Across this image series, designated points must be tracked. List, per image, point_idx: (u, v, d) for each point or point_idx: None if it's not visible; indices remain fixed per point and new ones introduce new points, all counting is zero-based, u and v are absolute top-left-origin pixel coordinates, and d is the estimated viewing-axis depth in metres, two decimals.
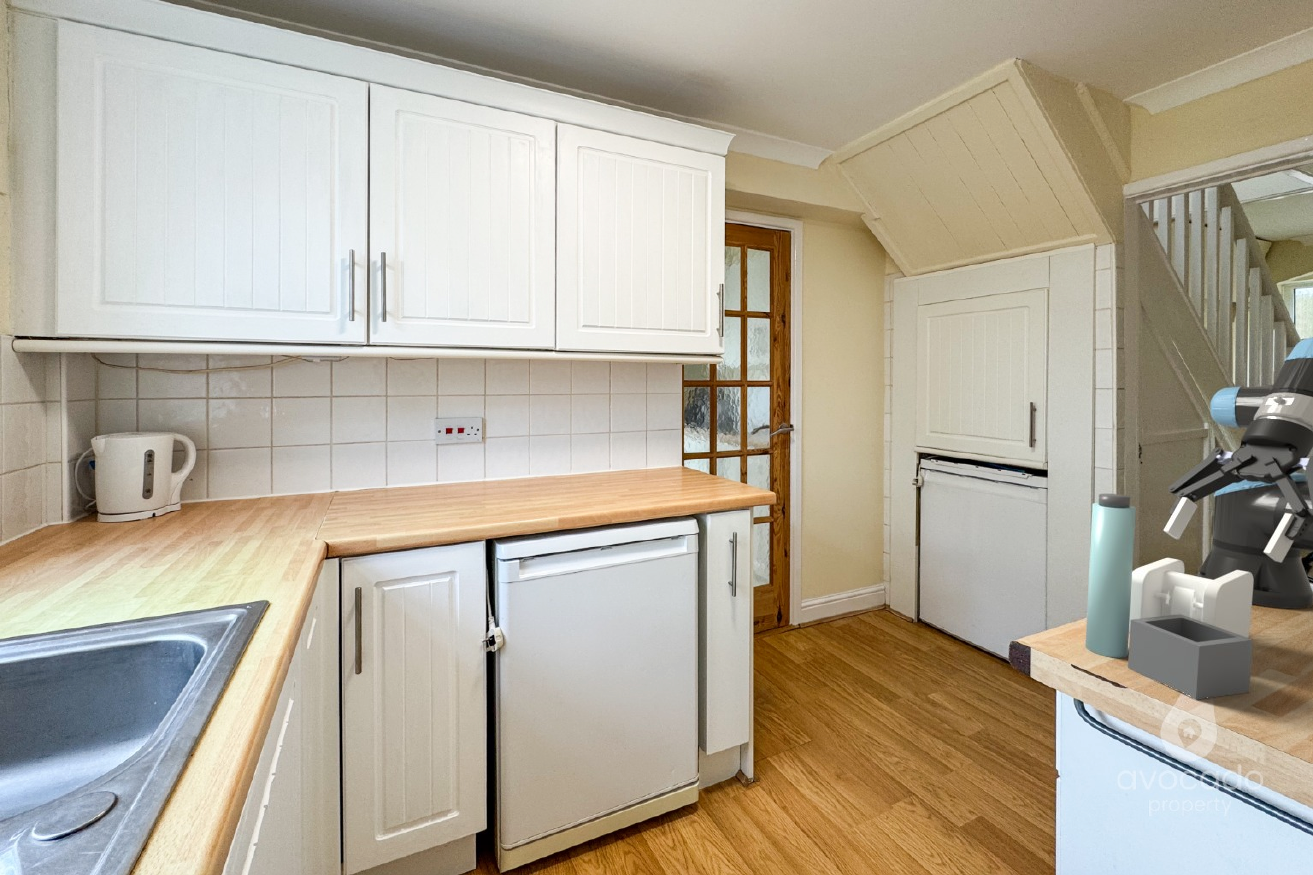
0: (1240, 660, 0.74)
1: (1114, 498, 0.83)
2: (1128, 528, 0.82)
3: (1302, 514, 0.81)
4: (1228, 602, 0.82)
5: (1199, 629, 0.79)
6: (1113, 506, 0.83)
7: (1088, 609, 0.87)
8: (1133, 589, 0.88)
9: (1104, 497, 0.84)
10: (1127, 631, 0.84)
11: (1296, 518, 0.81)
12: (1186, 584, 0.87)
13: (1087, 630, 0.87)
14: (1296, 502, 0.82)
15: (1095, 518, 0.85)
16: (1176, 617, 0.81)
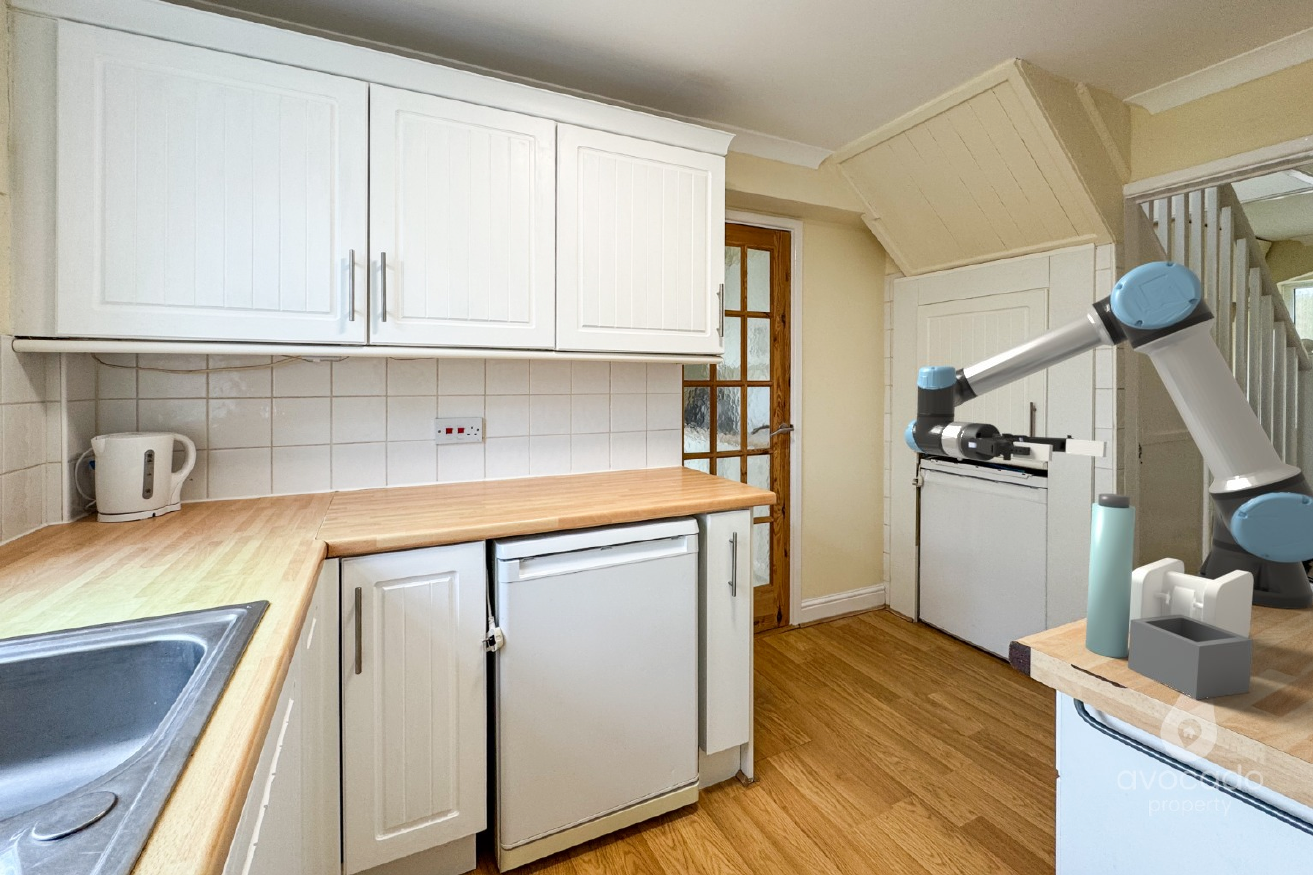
0: (1240, 660, 0.74)
1: (1114, 498, 0.83)
2: (1128, 528, 0.83)
3: (1007, 455, 1.03)
4: (1228, 602, 0.82)
5: (1199, 629, 0.79)
6: (1113, 506, 0.83)
7: (1088, 609, 0.87)
8: (1133, 589, 0.88)
9: (1104, 497, 0.84)
10: (1127, 631, 0.84)
11: (1013, 453, 1.02)
12: (1186, 584, 0.87)
13: (1087, 630, 0.87)
14: None
15: (1095, 518, 0.85)
16: (1176, 617, 0.81)
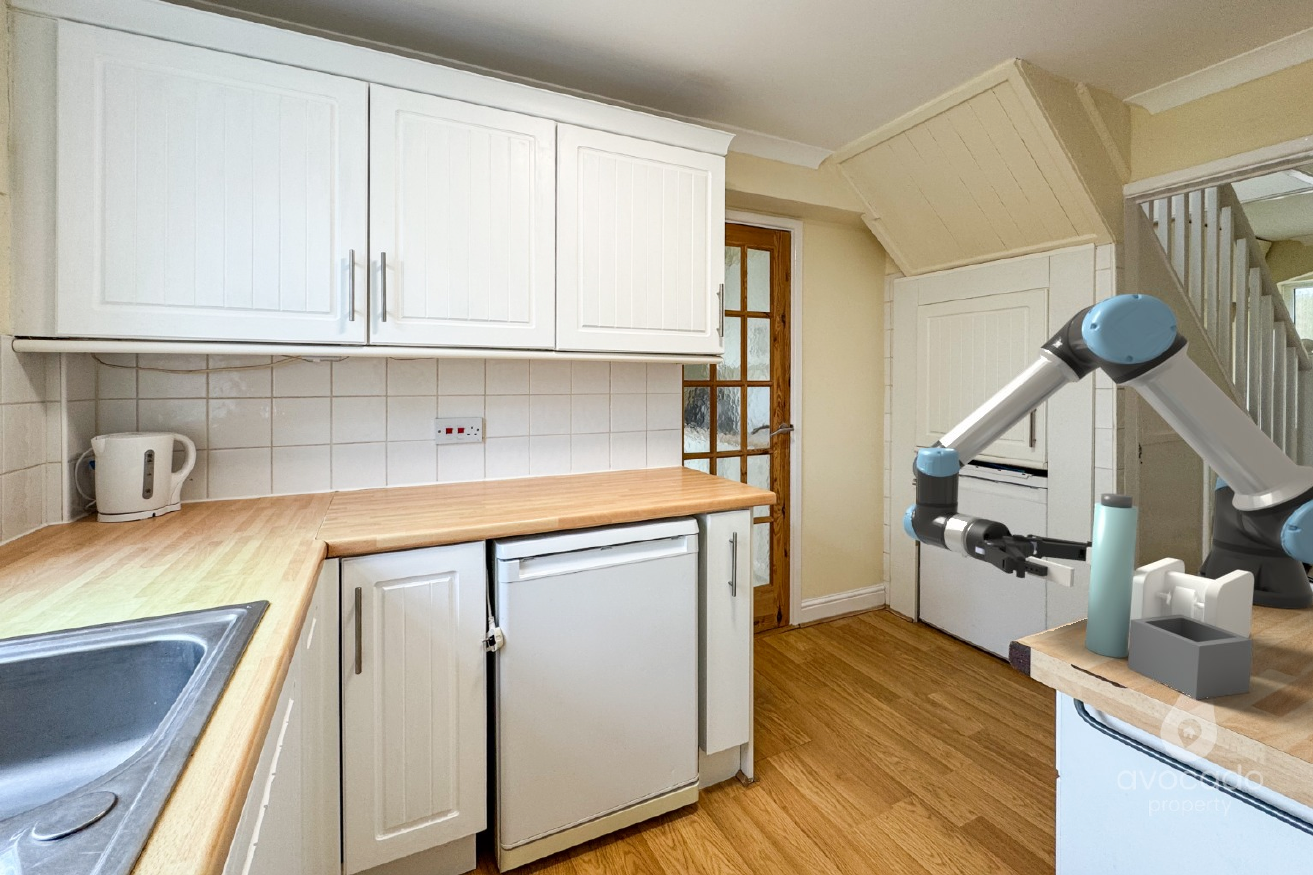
0: (1240, 660, 0.74)
1: (1117, 498, 0.83)
2: (1130, 528, 0.82)
3: (1021, 572, 0.90)
4: (1229, 602, 0.82)
5: (1199, 629, 0.79)
6: (1116, 506, 0.83)
7: (1089, 609, 0.87)
8: (1134, 589, 0.88)
9: (1107, 497, 0.84)
10: (1127, 631, 0.84)
11: None
12: (1187, 584, 0.87)
13: (1087, 630, 0.87)
14: None
15: (1098, 517, 0.85)
16: (1176, 617, 0.81)
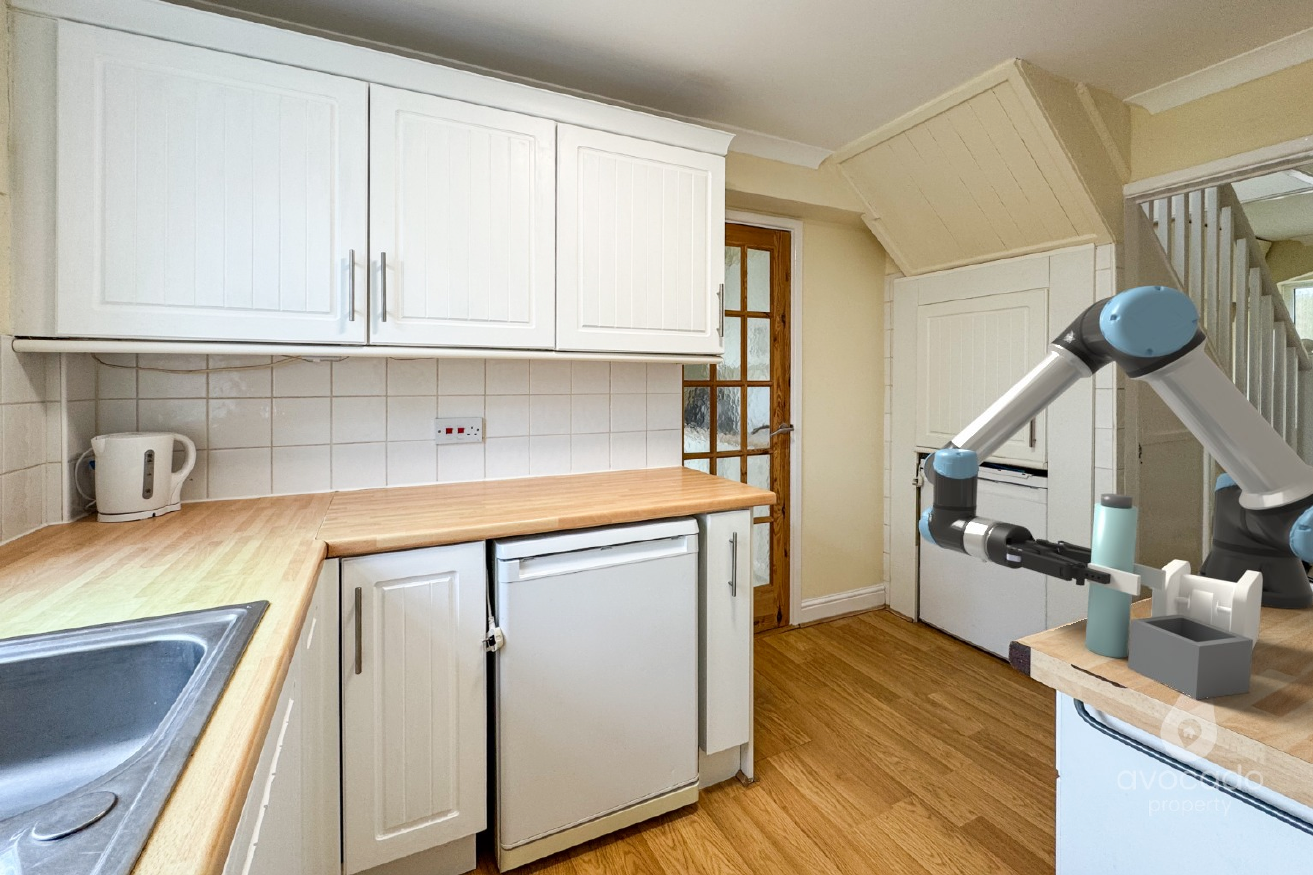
0: (1240, 660, 0.74)
1: (1117, 498, 0.83)
2: (1130, 529, 0.82)
3: (1082, 580, 0.85)
4: (1252, 605, 0.81)
5: (1199, 629, 0.79)
6: (1116, 506, 0.83)
7: (1089, 609, 0.87)
8: (1157, 595, 0.86)
9: (1107, 497, 0.84)
10: (1127, 631, 0.84)
11: None
12: (1204, 587, 0.86)
13: (1087, 630, 0.87)
14: None
15: (1097, 518, 0.85)
16: (1176, 617, 0.81)
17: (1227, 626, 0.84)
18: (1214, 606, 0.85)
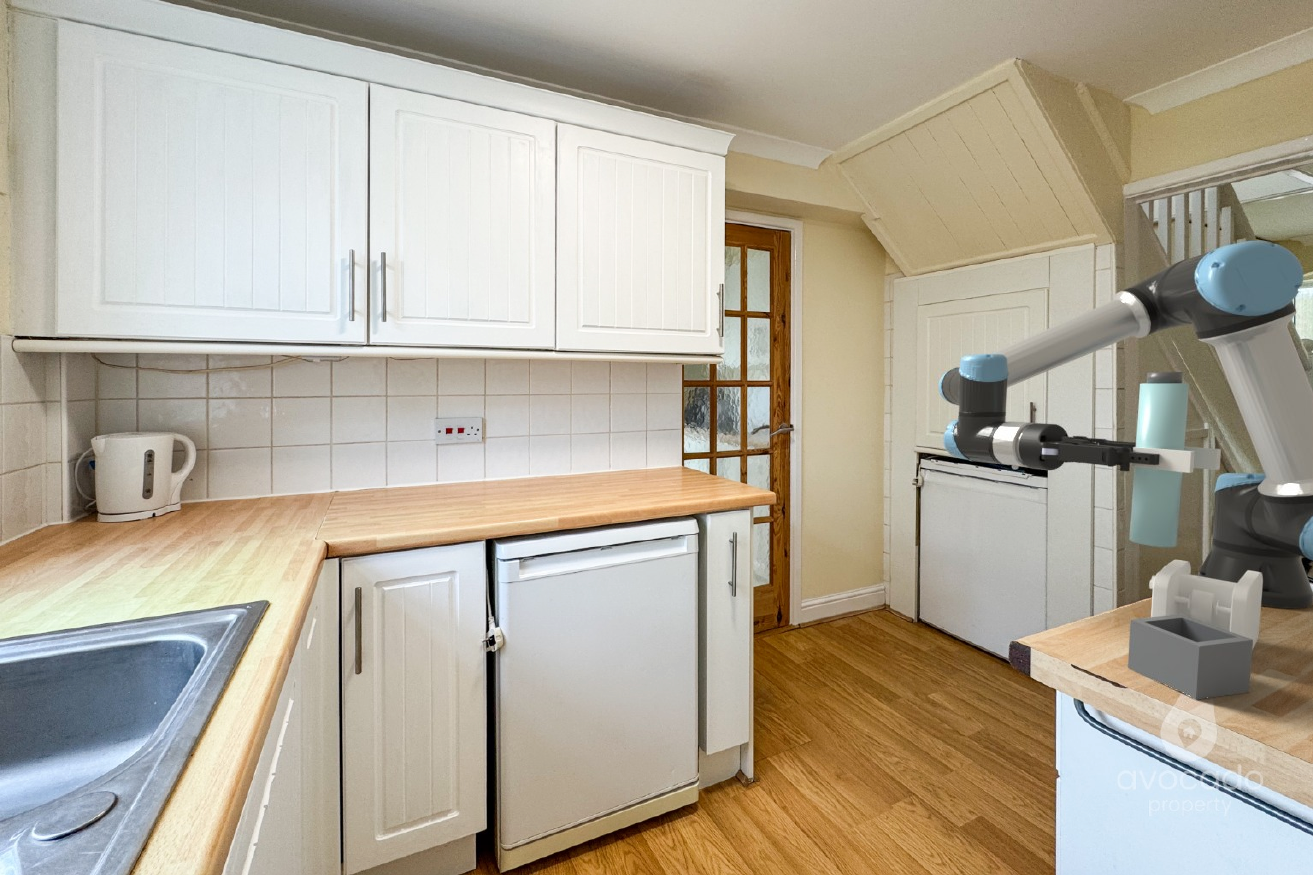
0: (1240, 660, 0.74)
1: (1165, 373, 0.76)
2: (1181, 404, 0.76)
3: (1127, 465, 0.79)
4: (1252, 605, 0.81)
5: (1199, 629, 0.79)
6: (1164, 382, 0.77)
7: (1134, 498, 0.80)
8: (1157, 595, 0.86)
9: (1154, 373, 0.77)
10: (1177, 518, 0.77)
11: None
12: (1204, 587, 0.86)
13: (1132, 521, 0.81)
14: None
15: (1144, 397, 0.78)
16: (1176, 617, 0.81)
17: (1227, 626, 0.84)
18: (1214, 606, 0.85)
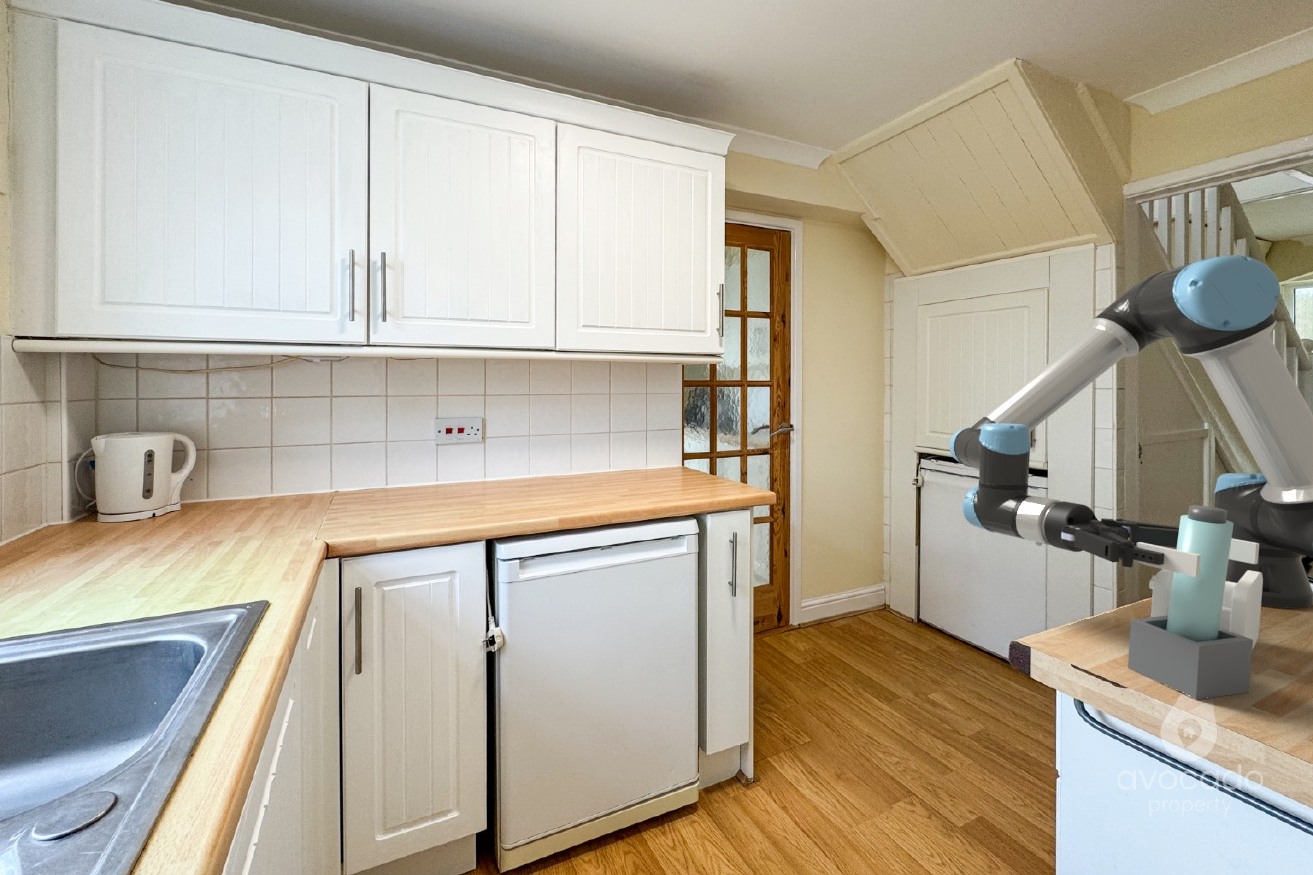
0: (1240, 660, 0.74)
1: (1209, 512, 0.73)
2: (1224, 546, 0.73)
3: (1129, 561, 0.77)
4: (1252, 605, 0.81)
5: None
6: (1208, 521, 0.74)
7: None
8: (1157, 595, 0.86)
9: (1197, 510, 0.74)
10: None
11: None
12: None
13: None
14: None
15: (1185, 533, 0.75)
16: None
17: (1227, 626, 0.84)
18: None
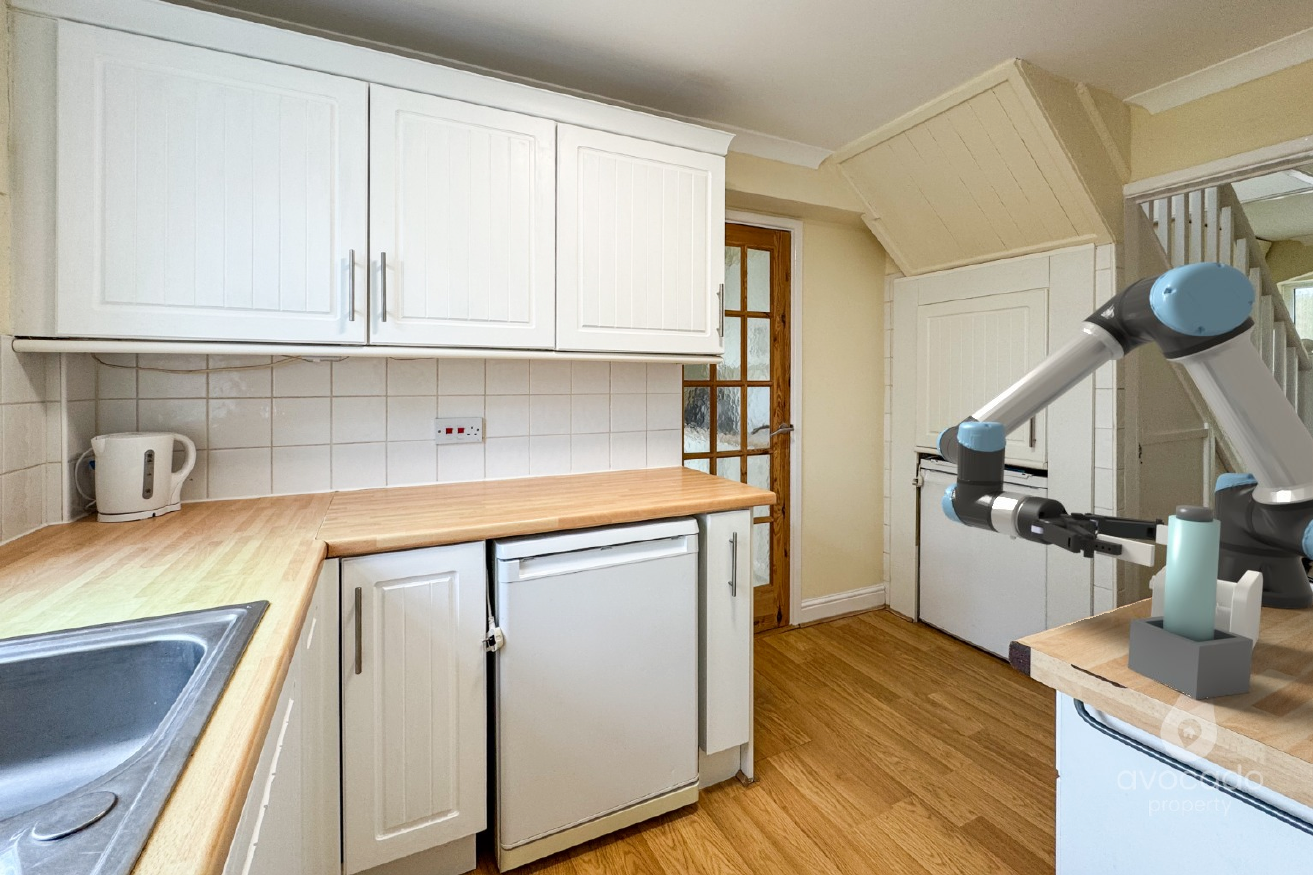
0: (1240, 660, 0.74)
1: (1196, 511, 0.74)
2: (1212, 545, 0.74)
3: (1089, 552, 0.80)
4: (1252, 605, 0.81)
5: None
6: (1195, 520, 0.74)
7: None
8: (1157, 595, 0.86)
9: (1184, 510, 0.75)
10: None
11: None
12: None
13: None
14: None
15: (1173, 533, 0.76)
16: None
17: (1227, 626, 0.84)
18: None
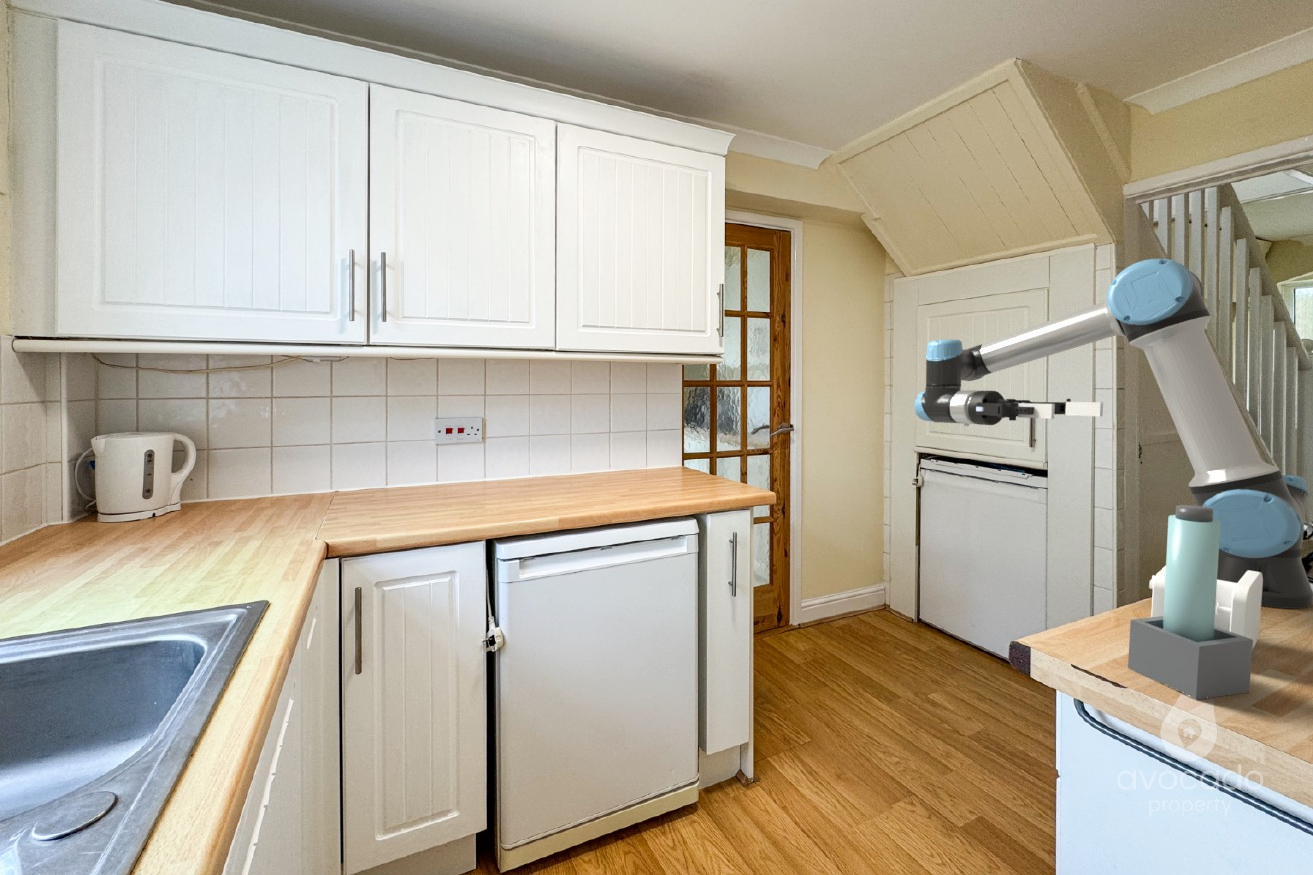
0: (1240, 660, 0.74)
1: (1195, 511, 0.74)
2: (1212, 545, 0.73)
3: (1013, 416, 1.12)
4: (1252, 605, 0.81)
5: None
6: (1194, 520, 0.74)
7: None
8: (1157, 595, 0.86)
9: (1183, 509, 0.75)
10: None
11: (1018, 413, 1.11)
12: None
13: None
14: None
15: (1173, 532, 0.76)
16: None
17: (1227, 626, 0.84)
18: None
